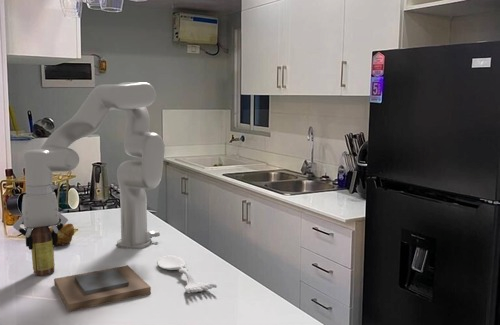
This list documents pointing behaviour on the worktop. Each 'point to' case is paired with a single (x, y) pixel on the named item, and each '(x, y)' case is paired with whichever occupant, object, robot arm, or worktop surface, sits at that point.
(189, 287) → the double-ended spork
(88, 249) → the worktop surface
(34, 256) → the sauce bottle
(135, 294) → the walnut base
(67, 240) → the bread roll
